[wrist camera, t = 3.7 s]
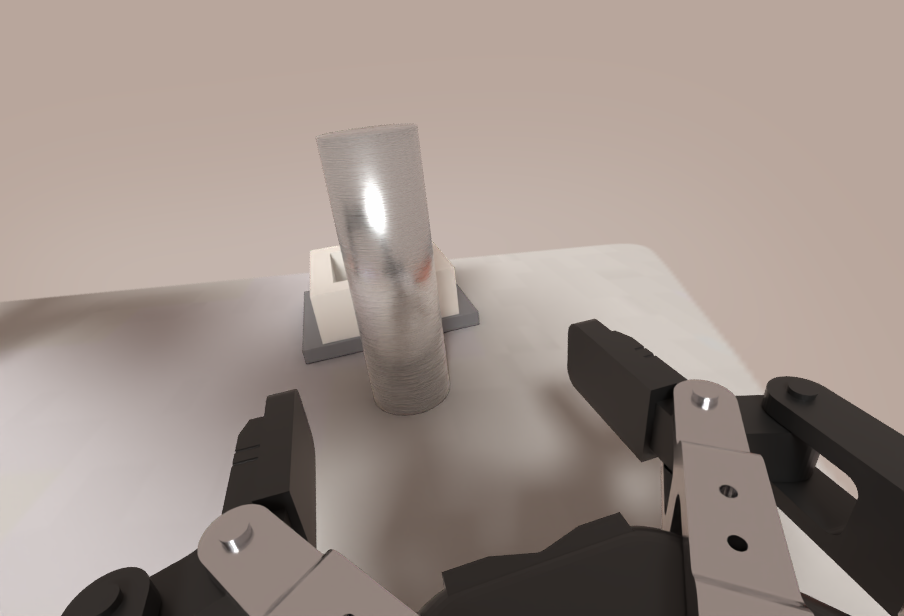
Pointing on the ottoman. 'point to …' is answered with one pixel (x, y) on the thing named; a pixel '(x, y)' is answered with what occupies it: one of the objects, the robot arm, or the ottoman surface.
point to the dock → (333, 311)
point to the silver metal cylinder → (388, 261)
